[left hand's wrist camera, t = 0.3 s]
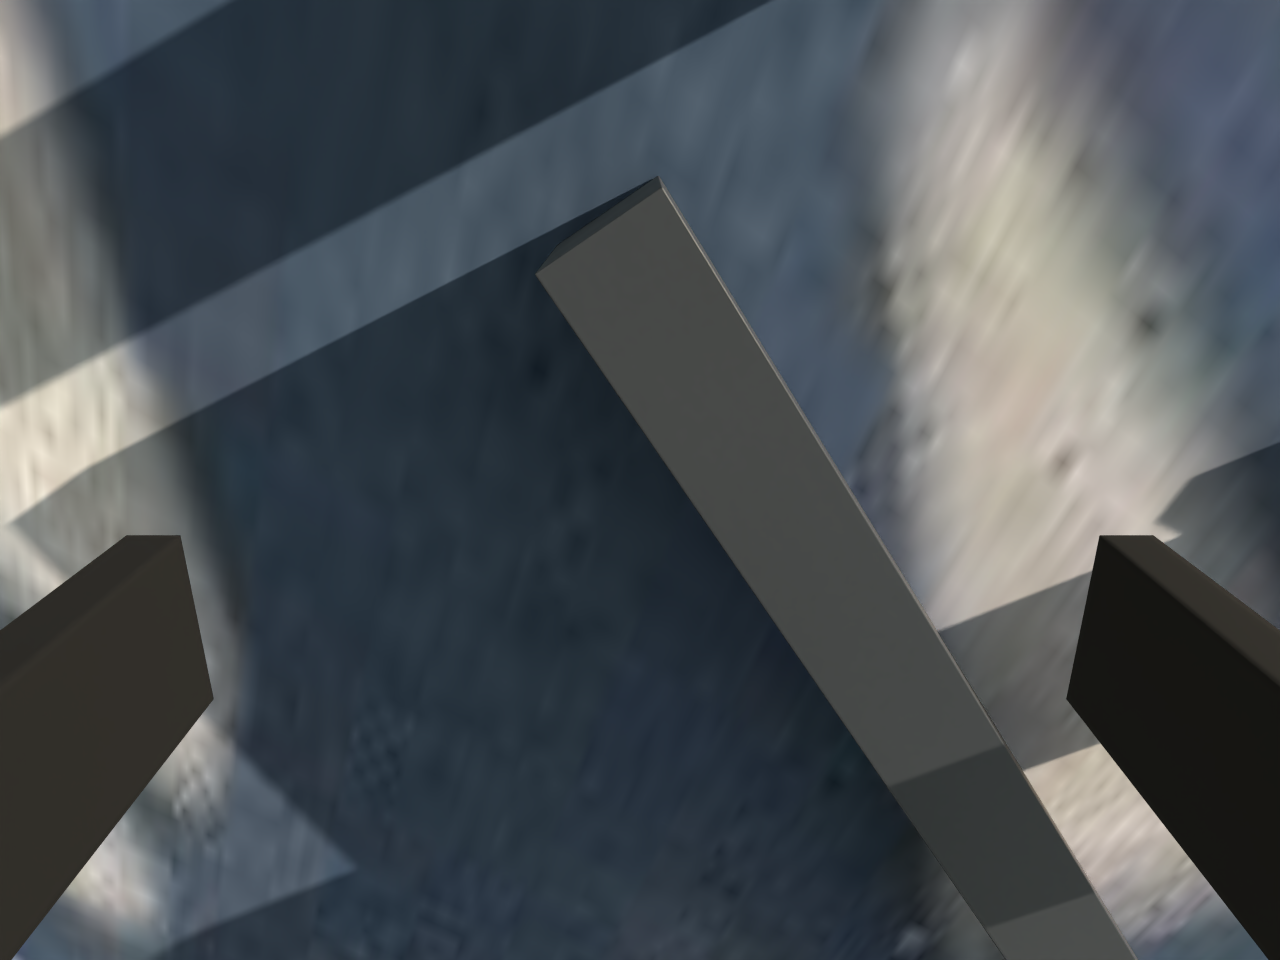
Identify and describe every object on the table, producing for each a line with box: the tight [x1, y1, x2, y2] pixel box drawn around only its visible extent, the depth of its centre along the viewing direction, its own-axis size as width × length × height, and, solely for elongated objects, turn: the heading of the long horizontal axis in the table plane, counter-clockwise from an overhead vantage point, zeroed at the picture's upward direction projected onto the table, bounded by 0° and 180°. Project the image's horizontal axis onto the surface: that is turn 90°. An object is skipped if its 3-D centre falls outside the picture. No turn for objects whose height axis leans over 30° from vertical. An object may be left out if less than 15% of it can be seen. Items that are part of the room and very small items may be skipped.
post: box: [535, 176, 1138, 960], centre depth 39 cm, size 55×5×8 cm, turn 33°
